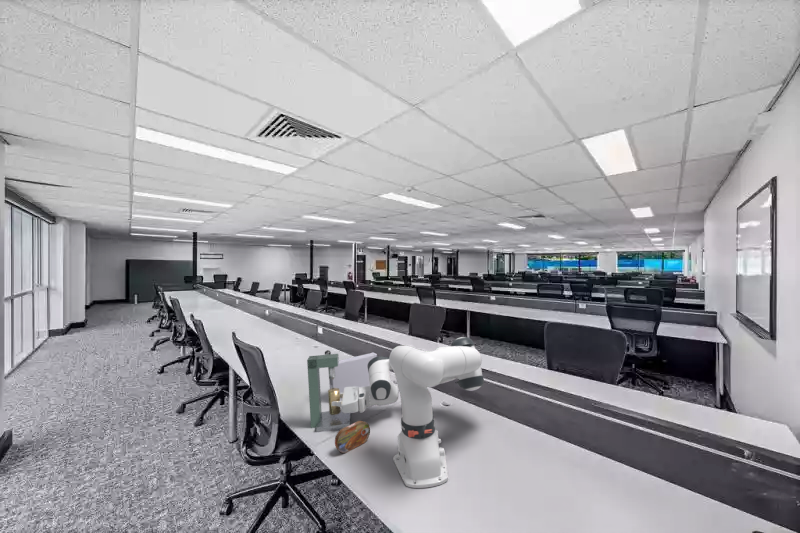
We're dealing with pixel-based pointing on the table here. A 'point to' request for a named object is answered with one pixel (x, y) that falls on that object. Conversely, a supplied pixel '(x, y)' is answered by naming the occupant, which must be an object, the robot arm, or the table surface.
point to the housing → (333, 395)
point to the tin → (352, 436)
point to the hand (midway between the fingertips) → (332, 400)
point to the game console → (352, 372)
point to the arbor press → (317, 417)
